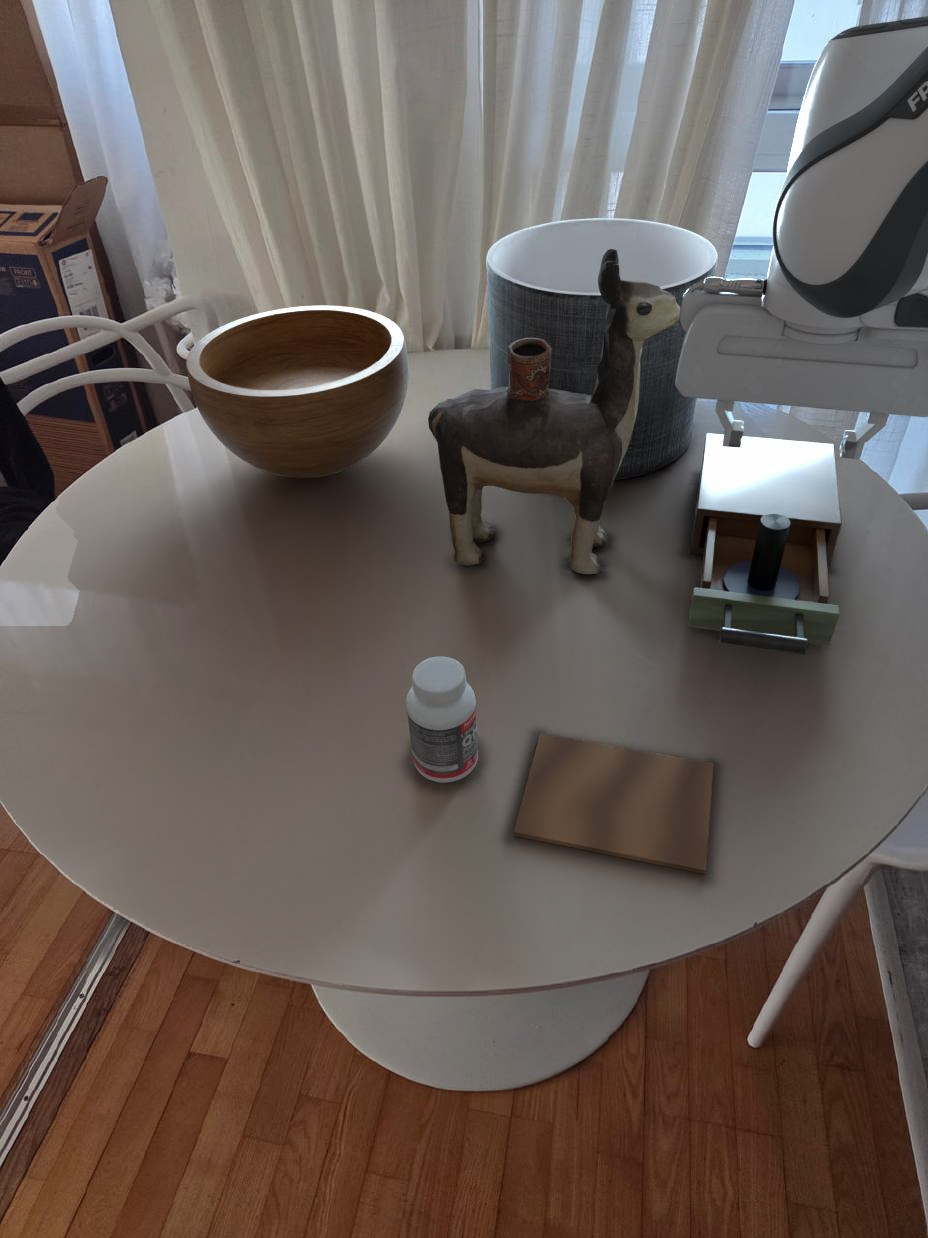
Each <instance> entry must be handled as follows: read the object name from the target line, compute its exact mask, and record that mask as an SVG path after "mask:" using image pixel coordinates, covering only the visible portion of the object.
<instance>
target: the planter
mask: <svg viewBox="0 0 928 1238" xmlns="http://www.w3.org/2000/svg"><path fill="white" fill-rule="evenodd" d="M609 249H614V250H617V253H618V258H619V271H620V279H621V280H625V281H636V282H647V283H649V284H653V285H656V286H659V287H660V288H661V289H663V290H665V291H667V292H669V293H671V294H672V295H673V296H674V297H675V300H676V303H677V304H678V305H679V307H680V308H681V301H682V298H683V295H684V294H685V292H686V291H687V290H688V289H689V288H690V287H691V286H693V285H695V284H697V283H701V282H704V281H705V278H710V277H716V274H717V267H718V259H719V254H718V250H717V248H716V247H715V246H714V244H713V243H712V242H710V240H708V239H707V238H705V237H703V236H702V235H700V234H698V233H695V232H693V231H691V230H688V229H685V228H684V227H683V228H682V227H680V226H677V225H671V224H667V223H663V222H657V221H652V220H645V219H633V218H621V217H620V218H618V217H592V218H579V219H578V218H575V219H566V220H560V221H559V220H558V221H551V222H547V223H546V222H545V223H541V224H537V225H533V226H529V227H526V228H523V229H519V230H517V231H514V232H512V233H509V234H507V235H506V236H505V235H504V236H503V237H502V238H500V239H498V240H497V241H496V242H495V243H493V244H492V245H491V247H490V248H489V249H488V250H487V253H486V256H485V264H486V267H485V269H486V295H487V316H488V317H487V318H488V319H487V321H488V325H487V326H488V348H489V349H488V350H489V372H490V373H489V375H490V376H489V377H490V390H492V389H495V388H499V387H508V385H509V367H508V346H509V345H510V344H511V343H512V342H515V341H517V340H519V339H524V338H539V339H543V340H545V341H546V342H547V343H548V344H549V345H550V347H551V349H552V351H551V368H550V380H549V386H548V388H550V389H556V390H562V391H567V392H572V393H579V394H587V395H592V396H593V393H594V389H595V384H596V380H597V368H598V366H599V364H600V361H601V355H602V345H603V340H604V332H605V327H606V309H607V303H606V302H605V301H604V299H603V298H602V296H601V294H600V291H599V287H598V275H599V272H600V266H601V261H602V258H603V256H604V254H605V253H606V251H607V250H609ZM697 290H700V291H703V288H699V289H697ZM685 334H686V333H685V332H684V331H683V329H682V328H681V325H680V321H679V319H678V322H677V324H676V325H674V326H671V327H669V328H667V329H665V330H663V331H661V332H659V333H657V334H655V335H653V336H651V337H649V338H647V339H645V340H644V343H643V346H642V354H641V357H640V385H639V403H638V410H637V415H636V419H635V423H634V427H633V430H632V434H631V439H630V443H629V445H628V448H627V451H626V453H625V455H624V457H623V460H622V462H621V465H620V468H619V470H618V472H617V475H616V477H615V480H614V481H617V480H625V479H630V478H634V477H639V476H643V475H647V474H650V473H653V472H655V471H658V470H660V469H662V468H664V467H666V466H667V465H669V464H671V463H673V462H674V461H676V460H677V459H678V458H680V457H681V455H683V453H685V451H686V450H687V448H688V447H689V445H690V443H691V440H692V435H693V425H694V418H695V410H696V404H697V400H698V398H690V397H684V396H682V395H681V393H680V392H679V390H678V389H677V387H676V386H675V379H676V373H677V367H678V362H679V357H680V353H681V349H682V345H683V341H684V337H685Z"/></svg>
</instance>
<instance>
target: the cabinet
mask: <svg viewBox="0 0 928 1238" xmlns="http://www.w3.org/2000/svg"><path fill="white" fill-rule="evenodd" d="M723 437H724V434H720V433H710V432H709V433H708V432H707V433H706V434H705V441H704V447H703V453H702V458H701V459H702V460H701V466H700V473H699V480H698V486H697V487H698V488H697V496H696V503H695V512H694V519H693V528H692V536H691V537H692V538H691V543H690V551H689V553H690V554H693V555H702V556H703V555H704V546H705V536H706V530H707V524H708V518H709V516H712V517H721V518H730V519H740V520H749V521H758V522H760V519H761V517H762V516H764V515H766V514H771V513H774V514H780V515H783V516H785V517H787V518H788V519H789V520H790V522H791V525H795V526H804V527H814V528H823V529H825V543H826V557H827V571H828V570H829V569H830V566H831V563H832V562H831V561H832V558H833V555H834V552H835V548H836V545H837V541H838V538H839V535H840V530H841V527H842V516H841V515H842V513H841V503H840V494H839V493H840V492H839V483H838V473H837V463H836V452H835V444H834V443H826V442H825V443H823V442H813V441H812V442H811V441H802V440H800V441H799V440H788V439H777V438H769V437H768V438H767V437H755V436H744V435H743V437H742V440H741V447H740V448H736V447H724V446H723Z"/></svg>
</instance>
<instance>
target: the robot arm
mask: <svg viewBox="0 0 928 1238" xmlns="http://www.w3.org/2000/svg"><path fill="white" fill-rule="evenodd" d="M793 136H794V137H793V140H792V145H791V151H790V155H789V159H788V160H789V161H788V166H787V173H786V176H785V178H784V181H783V183H782V185H781V188H780V191H779V193H778V197H777V199H776V202H775V203H776V204H775V208H774V213H773V218H772V228H771V229H772V234H771V236H772V250H771V254H770V255H771V256H770V261H769V265H768V266H769V267H768V271H767V278H765V279H758V278H757V279H756V278H736V279H734V278H733V279H731V278H730V279H729V278H723V277H720V276H719V277H718V276H715V277H710V278H705V281H704V282H701V283H697V284H695V285H693V286H691V287H690V288H689V289H688V290H687V291H686V292H685V294H684V295H683V298H682V301H681V308H680V316H679V321H680V325H681V328H682V329H683V331H684V332H685V333H686V334H685V337H684V341H683V345H682V349H681V353H680V357H679V362H678V367H677V373H676V379H675V386H676V387H677V389H678V390H679V392H680V393H681V395H682V396H684V397H690V398H697V399H703V400H715V409H714V410H715V413H716V415H717V417H718V419H719V421H720V424H721V426H722V428H723V429H724V431H723V435H724V437H723V446H724V447H736V448H740V447H741V440H742V437H743V436H744V432H745V431H744V428H745V427H744V426H745V421H744V420H737V419H735V418H734V416H733V413H732V412H733V411H734V406H735V402H739V403H751V404H761V405H775V406H785V407H799V408H811V409H823V410H834V411H845V412H857V413H858V412H859V413H865V417H866V418H865V420H864V421H863V422H862V423H860V424H859V426H858V427H857V428H856V429H855V430H847V429H845V430H843V436H842V441H841V442H840V445H839V457H840V458H841V459H853V460H860V459H861V457H862V454H863V450H864V447H865V443H867V442H869V441H870V440H871V439H872V438H874V437H875V436H876V435H877V434H878V433H879V432H880V431H881V430H882V429H883V428H885V427H886V426H887V422H888V419H889V416H890V415H894V416H905V417H917V418H928V15H926V16H925V15H924V16H920V17H913V18H905V19H899V20H893V21H885V22H876V23H870V24H864V25H858V26H851V27H849V28H846V29H845V30H842V31H841V32H839V33H838V34H837V35H834V37H832V38H831V39H830V40H828V41H827V42H826V44H825V46H824V47H823V48H822V50H821V52H820V54H819V56H818V58H817V61H816V63H815V64H814V67H813V69H812V71H811V74H810V76H809V79H808V83H807V86H806V89H805V91H804V96H803V99H802V103H801V106H800V110H799V114H798V118H797V123H796V126H795V131H794V135H793ZM699 288H703V291H700V290H697V289H699Z"/></svg>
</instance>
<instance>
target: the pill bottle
mask: <svg viewBox="0 0 928 1238" xmlns="http://www.w3.org/2000/svg"><path fill="white" fill-rule="evenodd" d="M466 675H467V674H466V670H465V668H464V666H463V665H462V663H461V662H459V661H458V660H456V659H454V658H452V657H448V656H433V657H428V658H425V659H424V660H422V661H421V662H419V663H418V664H417V665H416V666H415V668H414V669H413V671H412V678H411V679H412V680H411V681H412V686H411V687H410V689H409V691H408V693H407V696H406V699H405V708H406V716H407V722H408V728H409V738H410V747H411V753H412V761H413V764H414V767H415V769H416V770H417V771H418V773H419V774H420V775H421V776H422V777H424V778H425V779H427V780H429V781H432V782H436V783H440V784H441V783H442V784H443V783H444V784H446V783H452V782H456V781H460V780H461V779H464V778H465V777H467V776H468V775H470V774H471V773H472V771H473V770H474V769H475V767H476V766H477V763H478V760H479V740H478V738H479V737H478V722H477V701H476V696H475V695H476V694H475V692H474V690H473V688H472V687H471V685H470V684H469V683H468V682H467V677H466Z"/></svg>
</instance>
